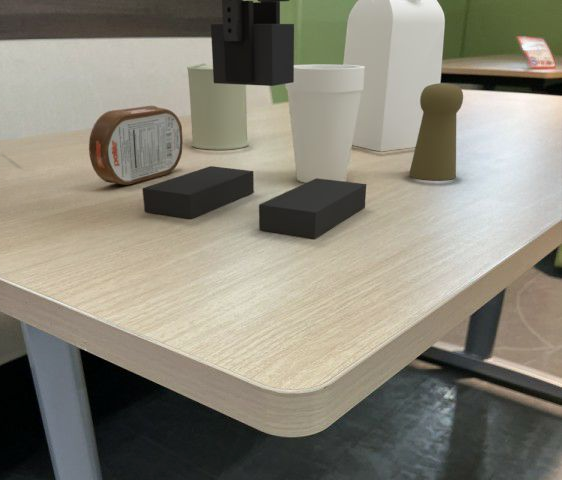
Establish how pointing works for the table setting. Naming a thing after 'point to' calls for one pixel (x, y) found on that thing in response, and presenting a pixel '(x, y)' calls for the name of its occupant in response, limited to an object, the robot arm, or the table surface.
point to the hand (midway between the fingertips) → (253, 79)
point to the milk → (393, 67)
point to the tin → (135, 144)
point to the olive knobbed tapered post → (437, 133)
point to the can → (216, 111)
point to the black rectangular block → (260, 54)
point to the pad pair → (272, 214)
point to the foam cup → (324, 118)
